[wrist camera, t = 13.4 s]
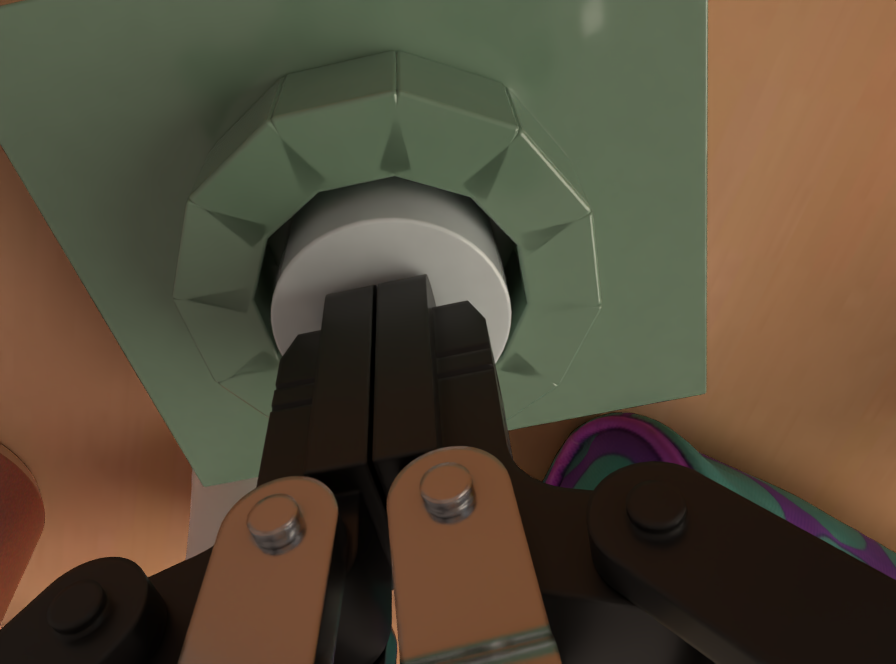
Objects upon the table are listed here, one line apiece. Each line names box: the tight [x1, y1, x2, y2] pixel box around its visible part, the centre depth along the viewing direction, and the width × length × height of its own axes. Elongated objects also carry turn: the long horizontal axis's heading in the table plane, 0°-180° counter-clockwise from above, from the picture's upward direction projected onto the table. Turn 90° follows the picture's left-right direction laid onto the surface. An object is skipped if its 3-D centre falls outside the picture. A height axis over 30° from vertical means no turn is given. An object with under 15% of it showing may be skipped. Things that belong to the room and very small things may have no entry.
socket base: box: [0, 0, 708, 487], centre depth 14 cm, size 11×10×6 cm
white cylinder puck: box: [271, 176, 512, 363], centre depth 12 cm, size 4×4×2 cm
